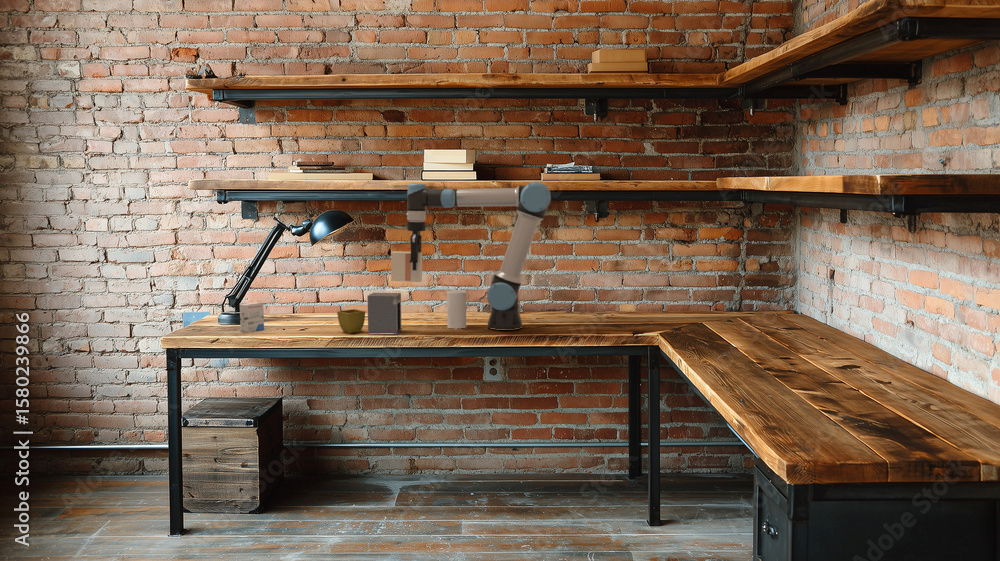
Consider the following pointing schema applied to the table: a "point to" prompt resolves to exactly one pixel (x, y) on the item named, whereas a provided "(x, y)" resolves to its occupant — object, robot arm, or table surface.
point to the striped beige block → (404, 267)
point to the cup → (456, 309)
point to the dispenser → (384, 312)
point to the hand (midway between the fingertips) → (415, 277)
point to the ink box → (251, 317)
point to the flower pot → (351, 320)
